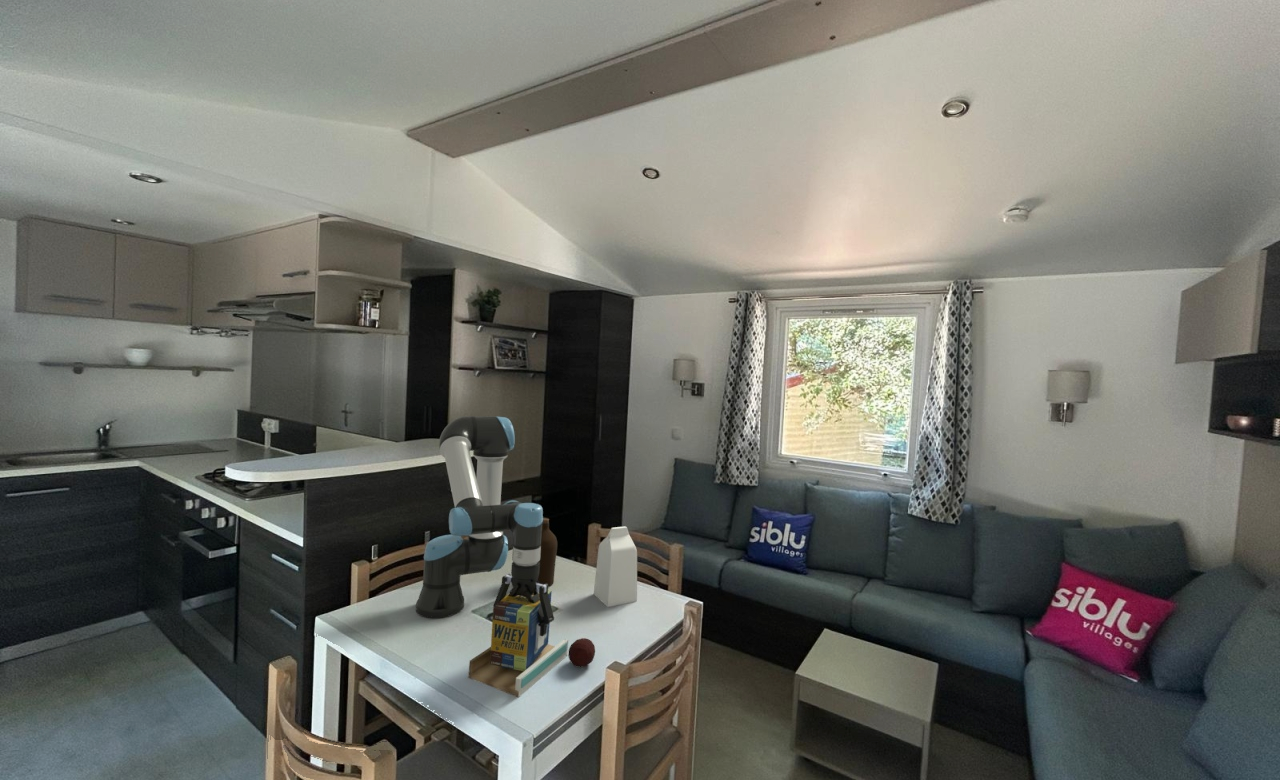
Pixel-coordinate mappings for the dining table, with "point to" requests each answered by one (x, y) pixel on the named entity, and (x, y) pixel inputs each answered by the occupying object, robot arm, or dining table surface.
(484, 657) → the back lip
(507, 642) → the protein box
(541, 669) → the rail
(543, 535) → the olive oil
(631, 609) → the dining table surface
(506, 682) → the shelf board
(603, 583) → the milk
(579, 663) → the dark red ball
